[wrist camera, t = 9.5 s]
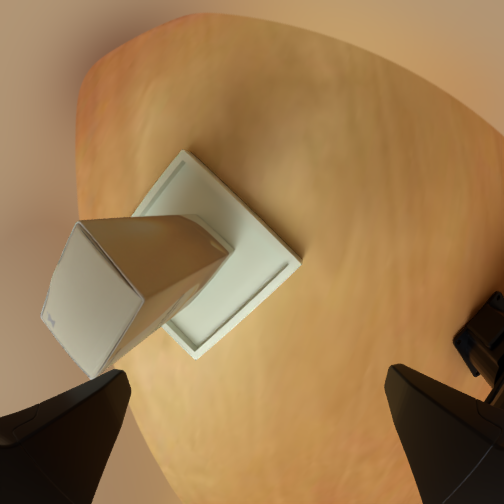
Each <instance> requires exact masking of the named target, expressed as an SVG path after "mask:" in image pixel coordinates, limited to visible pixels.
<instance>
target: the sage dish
mask: <svg viewBox="0 0 504 504" xmlns="http://www.w3.org/2000/svg"><path fill="white" fill-rule="evenodd" d="M184 214H196V215H198V216H199V217H200V218H201V219H203V220H204V221H205V222H206V223H207V224H208V225H209V226H210V227H211V228H212V229H213V230H214V231H216V232H217V233H218V234H219V235H220V236H221V237H222V238H223V239H224V240H225V241H226V242H227V243H228V244H229V245H230V246H231V247H232V248H233V249H234V253H233V254H232V255H231V256H230V258H229V259H228V260H227V261H226V263H225V264H224V265H223V266H222V268H221V269H220V270H219V271H218V273H217V274H216V275H215V276H214V278H213V279H212V280H211V281H210V282H209V284H208V285H207V286H206V287H205V288H204V289H203V290H202V292H201V293H200V294H199V295H198V296H197V297H196V298H195V299H194V300H193V301H192V302H191V303H190V304H189V305H188V306H187V307H185V308H184V309H183V310H182V311H180V312H179V313H178V314H176V315H175V316H174V317H172V318H171V319H170V320H169V321H167V322H166V323H165V324H163V325H162V326H161V327H162V328H163V329H164V330H165V331H166V332H167V333H168V334H169V335H170V336H171V337H172V338H173V339H174V340H175V341H176V342H177V343H178V344H179V345H180V346H181V347H182V348H183V349H184V350H185V351H186V352H187V353H188V354H189V355H190V356H191V357H193V358H194V359H195V360H197V359H198V358H199V357H201V356H202V355H203V354H204V353H205V352H206V351H208V350H209V349H210V348H211V347H212V346H213V345H214V344H216V343H217V342H218V341H219V340H220V339H221V338H222V337H224V336H225V335H226V334H227V333H228V332H229V331H230V330H232V329H233V328H234V327H235V326H236V325H237V324H238V323H239V322H240V321H242V320H243V319H244V318H245V317H246V316H247V315H248V314H249V313H250V312H252V311H253V310H254V309H255V308H256V307H257V306H258V305H259V304H260V303H261V302H263V301H264V300H265V299H266V298H267V297H268V296H269V295H270V294H271V293H272V292H273V291H274V290H275V289H277V288H278V287H279V286H280V285H281V284H282V283H283V282H284V281H285V280H286V279H287V278H288V277H289V276H290V275H291V274H292V273H294V272H295V271H296V270H297V269H298V268H299V267H300V266H301V265H302V259H301V258H300V257H299V256H298V255H297V254H296V253H295V252H294V251H293V250H292V249H291V248H290V247H289V246H288V245H287V244H286V243H285V242H284V241H283V240H282V239H281V238H280V237H279V236H278V235H277V234H276V233H275V232H274V231H273V230H272V229H271V228H270V227H269V226H268V225H267V224H266V223H265V222H264V221H263V220H262V219H261V218H260V217H259V216H258V215H257V214H256V213H255V212H253V211H252V210H251V209H250V208H249V207H248V206H247V205H246V204H245V203H244V202H243V201H242V200H241V199H240V198H239V197H238V196H237V195H236V194H235V193H234V192H233V191H232V190H231V189H230V188H229V187H228V186H226V185H225V184H224V183H223V182H222V181H221V180H220V179H219V178H218V177H217V176H216V175H215V174H214V173H213V172H212V171H211V170H210V169H208V168H207V167H206V166H205V165H204V164H203V163H202V162H201V161H200V160H199V159H198V158H197V157H196V156H195V155H193V154H192V153H191V152H189V151H186V150H184V149H182V150H181V151H180V153H179V154H178V155H177V156H176V158H175V159H174V160H173V161H172V163H171V164H170V165H169V166H168V168H167V169H166V170H165V171H164V173H163V174H162V175H161V176H160V178H159V179H158V180H157V182H156V183H155V184H154V186H153V187H152V188H151V190H150V191H149V192H148V194H147V195H146V197H145V198H144V199H143V201H142V202H141V203H140V205H139V206H138V208H137V209H136V211H135V212H134V213H133V215H132V216H131V217H140V216H159V215H184Z"/></svg>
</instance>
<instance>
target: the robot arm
mask: <svg viewBox="0 0 504 504" xmlns="http://www.w3.org/2000/svg"><path fill="white" fill-rule="evenodd" d="M497 296H498V298H497ZM458 340H459V342H458V343H457V341H458ZM453 345H454V346H455V348H456V349H457V351H458V352H459V354H460V355H461V357H462V358H463V360H464V362H465V363H466V365H467V366H468V368H469V370H470V371H471V373H472V375H473V376H474V377H478V376H479V375H480V374H481V375H482V376H483V378H484V379H485V380H486V381H487V383H488V384H489V385H490V386H491V388H492V390H491V392H490V394H489V395H488V397H487V398H486V400H485V401H484V402H483V401H480V400H478V399H477V400H476V398H473V397H471V396H469V395H467V394H465V393H462V392H460V391H458V390H456V389H454V388H452V387H449V386H447V385H445V384H443V383H441V382H439V381H437V380H434V379H432V378H430V377H428V376H426V375H424V374H422V373H420V372H418V371H416V370H413V369H411V368H409V367H407V366H405V365H403V364H394V365H391V366H390V367H389V369H388V373H387V377H386V381H385V386H384V388H385V393H386V396H387V400H388V403H389V407H390V411H391V414H392V418H393V422H394V425H395V428H396V430H397V433H398V435H399V438H400V440H401V443H402V446H403V448H404V451H405V453H406V456H407V459H408V462H409V464H410V467H411V470H412V473H413V475H414V478H415V481H416V484H417V487H418V490H419V493H420V496H421V499H422V502H423V504H504V298H503V296H502V294H501V293H500V292H499V291H496V292H495V293H494V294H493V295H492V297H491V298H490V299H489V300H488V302H487V303H486V304H485V305H484V306H483V308H482V309H481V310H480V311H479V312H478V313H477V314H476V316H475V317H474V318H473V319H472V320H471V321H470V322H469V323H468V324H467V325H466V326H465V328H464V329H463V330H462V331H461V332H460V333H459V334H458V335H457V336H456V337H455V338H454V340H453ZM130 396H131V387H130V384H129V381H128V378H127V375H126V373H125V371H123V370H118V369H113V370H111V371H109V372H106V373H104V374H102V375H100V376H98V377H96V378H94V379H92V380H90V381H88V382H85V383H84V384H81V385H79V386H77V387H75V388H72V389H70V390H68V391H66V392H64V393H62V394H59V395H57V396H55V397H53V398H50V399H48V400H46V401H43V402H41V403H40V404H36V405H34V406H32V407H29V408H27V409H24V410H21V411H19V412H16V413H13V414H10V415H6V416H3V417H0V504H91V503H92V501H93V498H94V495H95V492H96V490H97V487H98V484H99V481H100V479H101V476H102V474H103V471H104V469H105V466H106V463H107V461H108V458H109V456H110V453H111V451H112V448H113V446H114V443H115V441H116V439H117V436H118V434H119V431H120V429H121V426H122V423H123V420H124V416H125V413H126V409H127V406H128V403H129V399H130Z"/></svg>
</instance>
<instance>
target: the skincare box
mask: <svg viewBox="0 0 504 504" xmlns="http://www.w3.org/2000/svg"><path fill="white" fill-rule="evenodd" d="M233 253H234V249H233V248H232V247H231V246H230V245H229V244H228V243H227V242H226V241H225V240H224V239H223V238H222V237H221V236H220V235H219V234H218V233H217V232H216V231H214V230H213V229H212V228H211V227H210V226H209V225H208V224H207V223H206V222H205V221H204V220H203V219H201V218H200V217H199V216H198V215H196V214H184V215H159V216H140V217H123V218H109V219H94V220H80V221H78V222H76V224H75V225H74V228H73V230H72V232H71V234H70V237H69V239H68V241H67V243H66V246H65V248H64V250H63V253H62V255H61V258H60V260H59V262H58V264H57V267H56V269H55V271H54V273H53V276H52V279H51V283H50V287H49V290H48V293H47V296H46V299H45V302H44V306H43V309H42V312H41V319H42V320H43V322H44V323H45V324H46V325H47V327H48V328H49V330H50V331H51V333H52V334H53V335H54V337H55V338H56V339H57V341H58V342H59V343H60V344H61V346H62V347H63V348H64V349H65V351H66V352H67V353H68V355H69V356H70V357H71V358H72V359H73V361H74V362H75V363H76V364H77V365H78V366H79V367H80V368H81V369H82V370H83V372H84V373H85V374H86V375H87V376H88V377H89V378H90V379H91V380H92V379H94V378H96V377H98V376H99V375H100V374H101V373H102V372H104V371H105V370H106V369H107V368H109V367H110V366H111V365H112V364H114V363H115V362H116V361H117V360H119V359H120V358H121V357H123V356H124V355H125V354H126V353H128V352H129V351H130V350H131V349H133V348H134V347H135V346H136V345H138V344H139V343H140V342H142V341H143V340H144V339H146V338H147V337H148V336H149V335H151V334H152V333H153V332H155V331H156V330H157V329H158V328H160V327H161V326H162V325H163V324H165V323H166V322H167V321H169V320H170V319H171V318H172V317H174V316H175V315H176V314H178V313H179V312H180V311H182V310H183V309H184V308H185V307H187V306H188V305H189V304H190V303H191V302H192V301H193V300H194V299H195V298H196V297H197V296H198V295H199V294H200V293H201V292H202V290H203V289H204V288H205V287H206V286H207V285H208V284H209V282H210V281H211V280H212V279H213V278H214V276H215V275H216V274H217V273H218V271H219V270H220V269H221V268H222V266H223V265H224V264H225V263H226V261H227V260H228V259H229V258H230V256H231V255H232V254H233Z"/></svg>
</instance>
